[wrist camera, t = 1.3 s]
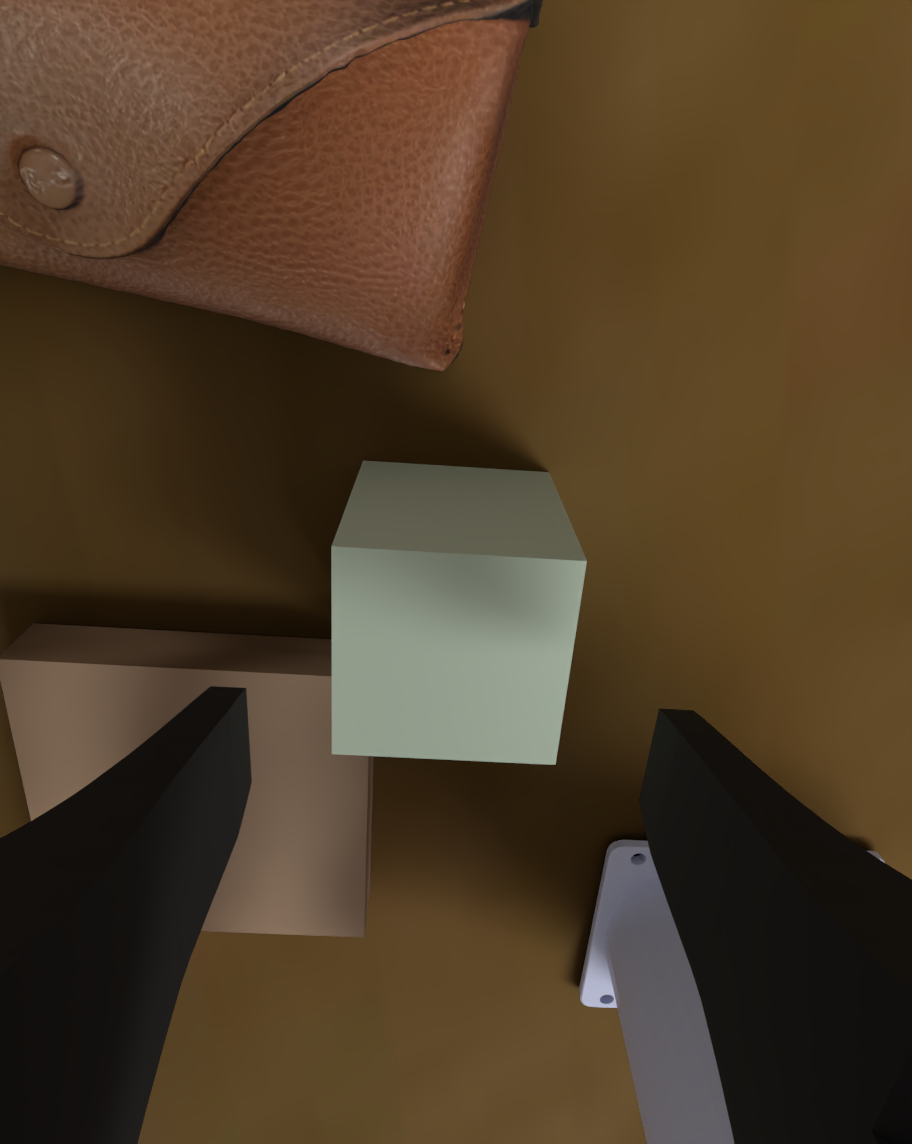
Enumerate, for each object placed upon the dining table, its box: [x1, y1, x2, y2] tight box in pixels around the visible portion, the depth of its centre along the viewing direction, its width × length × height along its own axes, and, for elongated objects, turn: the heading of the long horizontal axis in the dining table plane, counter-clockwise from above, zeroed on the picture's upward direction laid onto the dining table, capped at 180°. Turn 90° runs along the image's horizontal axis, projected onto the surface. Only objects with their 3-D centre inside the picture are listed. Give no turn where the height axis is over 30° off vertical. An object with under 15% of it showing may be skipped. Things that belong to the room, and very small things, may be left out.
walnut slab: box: [0, 623, 374, 937], centre depth 23 cm, size 10×10×2 cm
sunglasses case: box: [0, 0, 543, 372], centre depth 15 cm, size 18×7×7 cm
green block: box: [331, 461, 587, 765], centre depth 18 cm, size 5×5×6 cm
